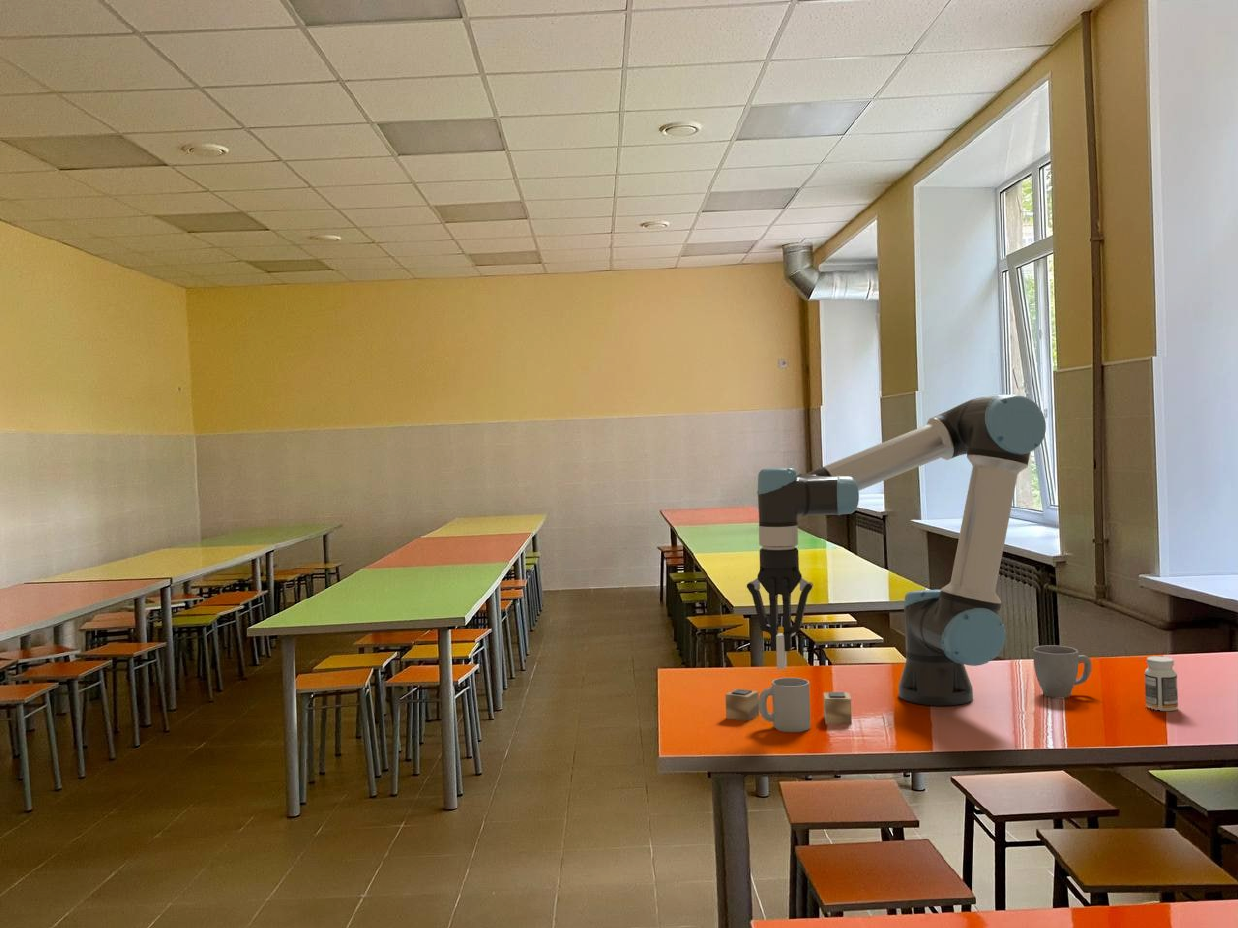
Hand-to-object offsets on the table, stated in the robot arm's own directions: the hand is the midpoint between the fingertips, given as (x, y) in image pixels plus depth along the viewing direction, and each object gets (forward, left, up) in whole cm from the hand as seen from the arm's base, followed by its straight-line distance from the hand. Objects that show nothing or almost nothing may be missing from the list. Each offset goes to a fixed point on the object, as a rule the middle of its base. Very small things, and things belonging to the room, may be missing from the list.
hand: (781, 667), depth 193 cm
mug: (-54, -35, -12) cm, 66 cm away
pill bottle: (-71, -27, -12) cm, 77 cm away
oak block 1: (+9, -6, -12) cm, 16 cm away
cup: (0, 0, -12) cm, 12 cm away
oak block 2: (-10, -7, -12) cm, 17 cm away
